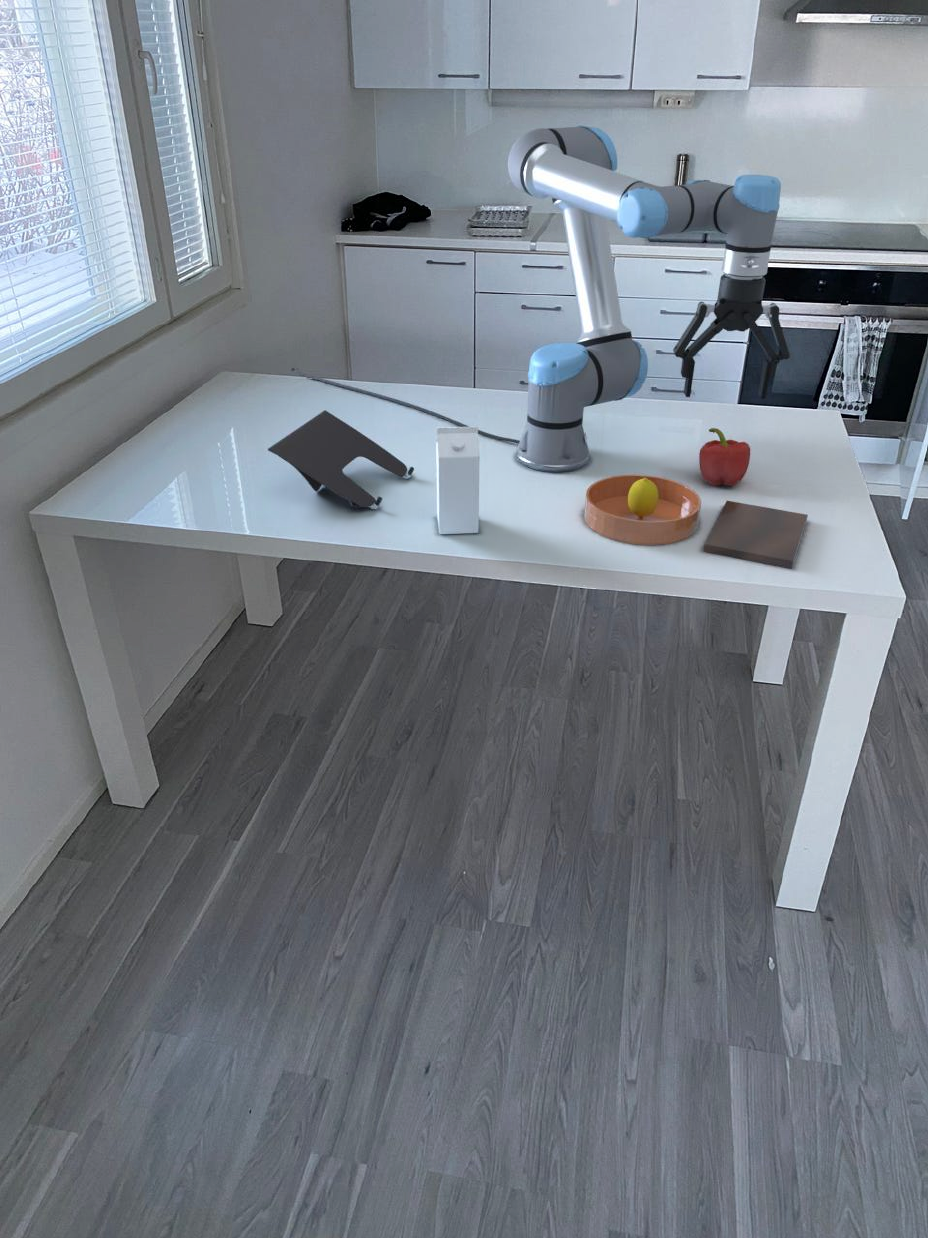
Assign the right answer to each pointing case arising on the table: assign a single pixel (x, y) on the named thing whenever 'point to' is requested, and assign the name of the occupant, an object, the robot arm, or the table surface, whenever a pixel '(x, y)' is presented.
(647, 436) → the table surface
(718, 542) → the board
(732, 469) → the vegetable
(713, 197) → the robot arm
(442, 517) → the milk carton
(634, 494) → the lemon
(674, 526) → the basin
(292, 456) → the laptop tray
